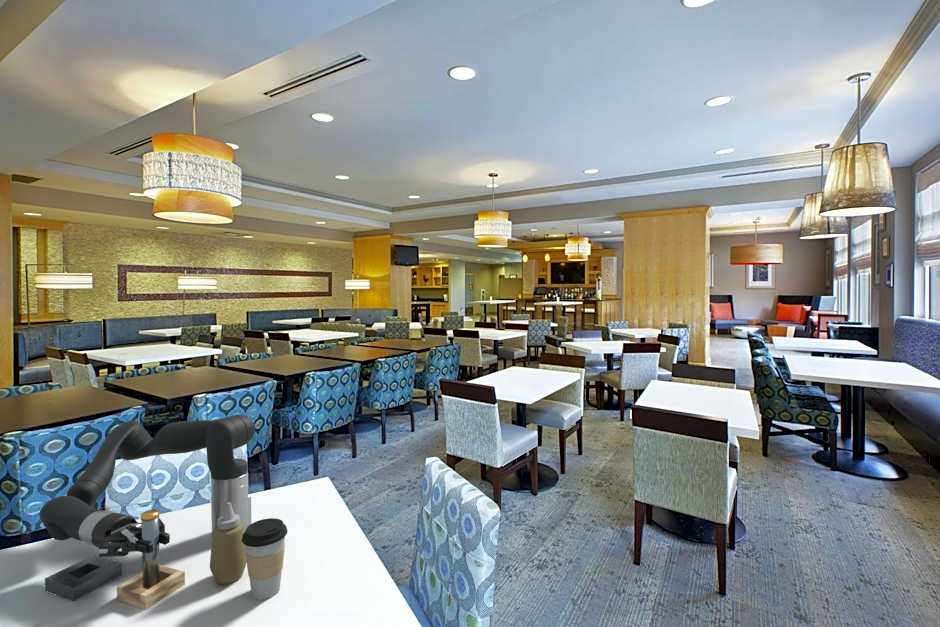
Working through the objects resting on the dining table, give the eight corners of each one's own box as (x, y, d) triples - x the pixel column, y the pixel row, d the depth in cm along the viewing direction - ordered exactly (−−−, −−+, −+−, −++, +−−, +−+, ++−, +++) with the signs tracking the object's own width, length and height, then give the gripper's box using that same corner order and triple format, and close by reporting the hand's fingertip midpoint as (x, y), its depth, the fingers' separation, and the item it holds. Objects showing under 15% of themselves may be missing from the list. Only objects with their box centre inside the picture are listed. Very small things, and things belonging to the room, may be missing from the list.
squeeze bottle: (255, 571, 110) (254, 498, 109) (228, 591, 102) (227, 513, 101) (230, 564, 112) (229, 493, 112) (201, 583, 105) (200, 508, 104)
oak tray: (157, 576, 107) (157, 563, 107) (184, 584, 104) (184, 571, 104) (117, 600, 99) (116, 586, 99) (145, 609, 96) (145, 596, 96)
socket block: (94, 566, 111) (94, 554, 111) (122, 574, 108) (121, 562, 108) (45, 591, 102) (44, 578, 102) (73, 601, 98) (73, 588, 98)
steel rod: (153, 576, 104) (152, 508, 103) (164, 579, 103) (162, 510, 102) (138, 585, 101) (137, 515, 100) (149, 588, 99) (147, 517, 99)
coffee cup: (271, 608, 97) (270, 540, 96) (232, 602, 98) (231, 535, 98) (296, 580, 106) (295, 518, 105) (261, 575, 108) (260, 514, 107)
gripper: (138, 530, 113) (189, 544, 107) (73, 561, 99) (126, 578, 94) (138, 501, 112) (188, 513, 107) (72, 528, 99) (126, 543, 93)
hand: (159, 543), depth 100 cm, fingers closed on steel rod, 3 cm apart
